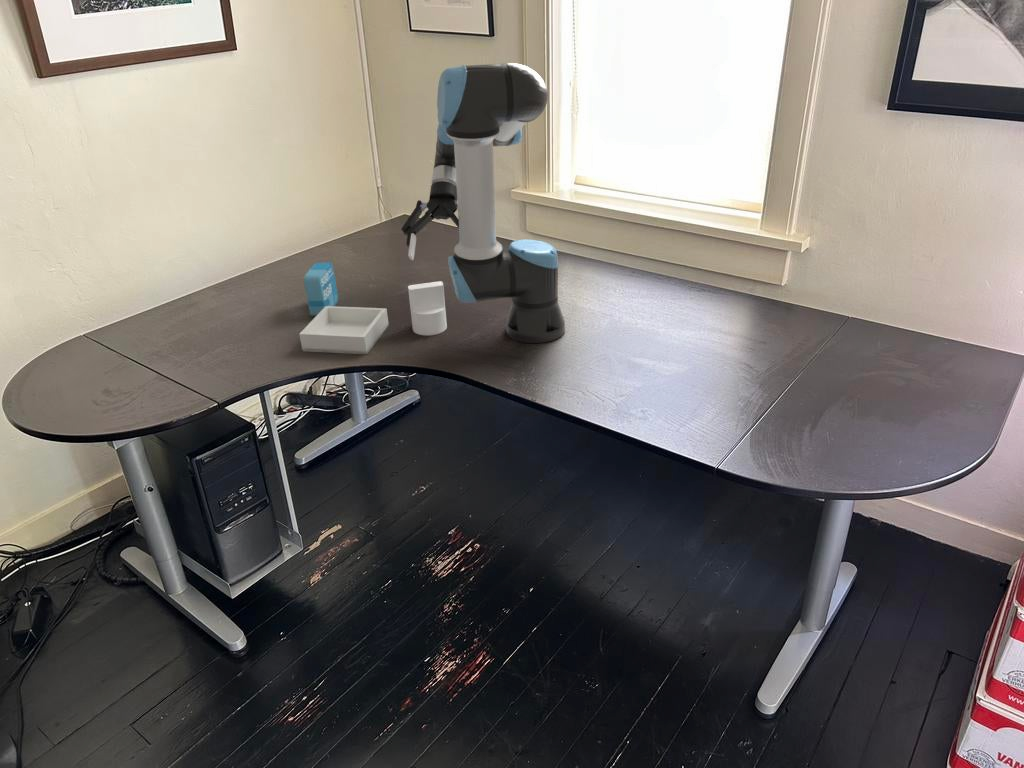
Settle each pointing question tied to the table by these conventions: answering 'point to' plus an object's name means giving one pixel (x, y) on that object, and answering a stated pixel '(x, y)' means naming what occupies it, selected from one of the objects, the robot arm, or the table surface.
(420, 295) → the base with upright slab
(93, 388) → the table surface
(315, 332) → the bin
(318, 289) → the data package
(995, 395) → the table surface
